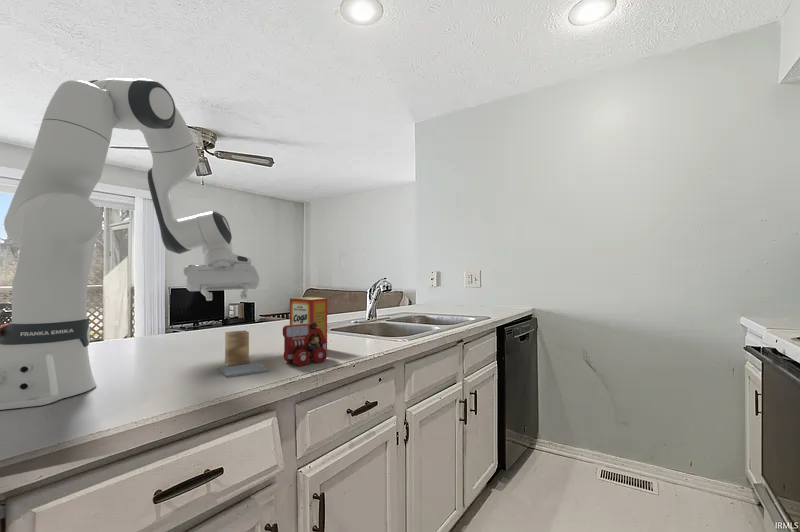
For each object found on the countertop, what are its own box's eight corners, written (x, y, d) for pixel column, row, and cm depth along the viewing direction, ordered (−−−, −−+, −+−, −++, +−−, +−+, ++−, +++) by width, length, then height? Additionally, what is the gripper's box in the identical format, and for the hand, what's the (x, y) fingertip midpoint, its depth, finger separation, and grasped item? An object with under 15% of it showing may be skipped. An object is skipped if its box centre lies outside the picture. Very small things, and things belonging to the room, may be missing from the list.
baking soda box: (327, 349, 119) (327, 297, 120) (311, 352, 114) (311, 298, 114) (305, 345, 125) (305, 296, 125) (289, 349, 119) (289, 297, 119)
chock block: (228, 365, 99) (228, 334, 99) (225, 362, 102) (225, 332, 102) (248, 362, 102) (248, 332, 102) (245, 359, 105) (245, 330, 105)
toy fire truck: (333, 360, 104) (333, 322, 104) (290, 368, 95) (290, 326, 96) (319, 356, 109) (319, 319, 109) (277, 364, 100) (277, 323, 101)
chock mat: (227, 377, 87) (227, 375, 87) (220, 369, 94) (220, 367, 94) (267, 371, 93) (267, 369, 93) (258, 364, 99) (258, 362, 99)
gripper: (183, 257, 114) (187, 292, 106) (255, 258, 125) (264, 289, 117) (182, 272, 117) (186, 307, 109) (252, 272, 129) (260, 303, 121)
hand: (227, 298), depth 113 cm, fingers open, 8 cm apart
